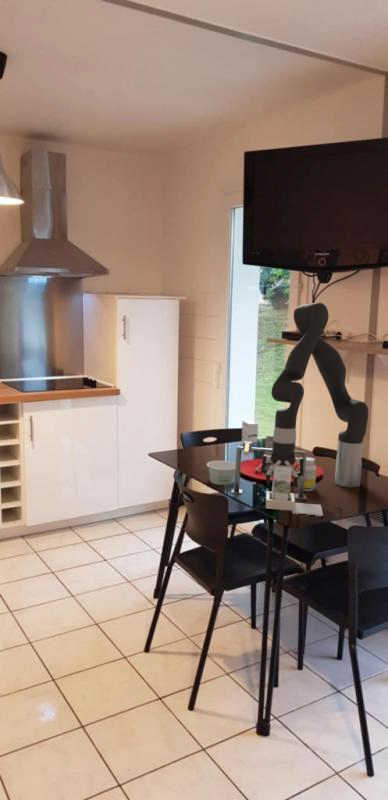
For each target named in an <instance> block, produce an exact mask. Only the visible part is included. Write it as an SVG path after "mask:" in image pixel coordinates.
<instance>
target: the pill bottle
mask: <svg viewBox="0 0 388 800" xmlns="http://www.w3.org/2000/svg"><path fill="white" fill-rule="evenodd" d="M315 460H316V459H315V458H313V457H309V456H306V468H305V481H304V492H311V491H315V489H316V481H317V479H316V478H317V466H316V465H315V463H316V461H315ZM299 471H300V465H299V466H298V472H299ZM299 479H300V476H299V477H298V480H297V488H298V489H299Z"/></svg>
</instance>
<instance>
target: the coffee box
mask: <svg viewBox="0 0 388 800" xmlns="http://www.w3.org/2000/svg"><path fill="white" fill-rule="evenodd" d="M264 444H265V445H264V448H270V449H273V436H271V435H270V436H269V435H267V436H266V439H265V443H264ZM264 454H265V455H267V456H271V455H272V452H266V451H264ZM272 464H273V463H272V461H271V459H269V460H268V462H266V465H265V469H267V470H268V468H269V467H270V466H271V465H272ZM263 477H266V474H265V473H262V478H263ZM270 477H273V471H272V472H271V473H270Z"/></svg>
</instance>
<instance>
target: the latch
mask: <svg viewBox="0 0 388 800" xmlns="http://www.w3.org/2000/svg"><path fill="white" fill-rule="evenodd" d="M242 446H243V447H245V449H244V450H243V456H249V451H250V450H249V448H252V442H251V441H244V443H243V445H242Z"/></svg>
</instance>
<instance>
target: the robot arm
mask: <svg viewBox="0 0 388 800" xmlns="http://www.w3.org/2000/svg"><path fill="white" fill-rule="evenodd" d="M329 317H330V316H329V310H328V308H327V306H326V305H325V304H324V303H323V302H312V303H307V304H301V305H299V306H296V307H295V309H294V311H293V320H294V323H295V326H296V328H297V330H298V332H299V334H300V335H301V338H300V340H299V341H298V342H297V343H296V344H295V345H294V346H293V348H292V349H291V351H290V352H289V355H288V357H287V359H286V363H285V365H284V369H283V370H282V371H281V373H280V374H279V375H278V377H277V378H276V380H275V382H274V383H273V384H272V386H271V391H270V392H271V398H272V399H273V400H274V401H276V402H281V403H288V404H289V407H285V408H279V409H277V410H276V412H275V416H274V417H275V418H274V419H275V420H274V429H273V449H272V455H271V456H267V455H265V453H264V454H262V461H261V470H260V473H261V474H263V473H265V474H266V481H265V483H266V484H267V486H268V487H270V485H271V481H270V473H271V472H272V471H273V470H274V468H275V465H276V466H278V465H284V466H288V467H289V466H290V467H291V468H292V472H291V474H292V475H293V477H292V478H293V479H292V488H293V489H294V488H296V487H298V477H299V476H303V467H304V460H303V457H301V456H300V457H296V456H295V450H296V441H297V429H296V427H297V417H298V412H299V408H300V405H301V403H302V400H303V398H304V396H305V395H304V393H305V390H304V387H303V384H302V383H300V382H296V381H301V380H302V379H303V378H304V376H305V374H306V370H307V367H308V365H309V361H310V358H311V357H313V360H314V362H315V364H316V367H317V369H318V371H319V374H320V375H321V378H322V379H323V382H324V384H325V386H326V387H325V388H326V389H327V391H328V394H329V396H330V397H331V401H332V404H333V408H334V412H335V414H336V416H337V418H338V419H339V420H340V421H342V422H345V423H347V427H346V430H344V431H340V432H339V433H338V437H337V451H336V458H335V459H336V461H335V472H334V473H335V474H334V484H335V485H337V486H340V487H344V488H360V487H361V479H362V467H363V466H362V465H363V462H362V454H363V444H364V438H365V436H366V432H367V428H368V420H369V407H368V405H367V404H366V402H365V401H361V400H358V399H354V398H352V397H351V395H350V394H349V392H348V389H347V388H346V378H347V368H346V366H345V363H344V361H343V358H342V356H341V354H340V353H339V351H338V350H337V349H336V348H335V347H334V346H332V345H331V344H330V343H328V342H327V341H326V340H325V339H324V338H322V334H323V332H324V330H325V329H326V327H327V324H328V321H329ZM269 459H271V461H272V463H273V464H272V465H271V466H270V467H269V468H268V470H267V469H265V465H266V462H268V460H269ZM295 463H297V464H298V465H299V466H300V471H299V470H298V471H297V470H296V469H295V467H294V464H295Z"/></svg>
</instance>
